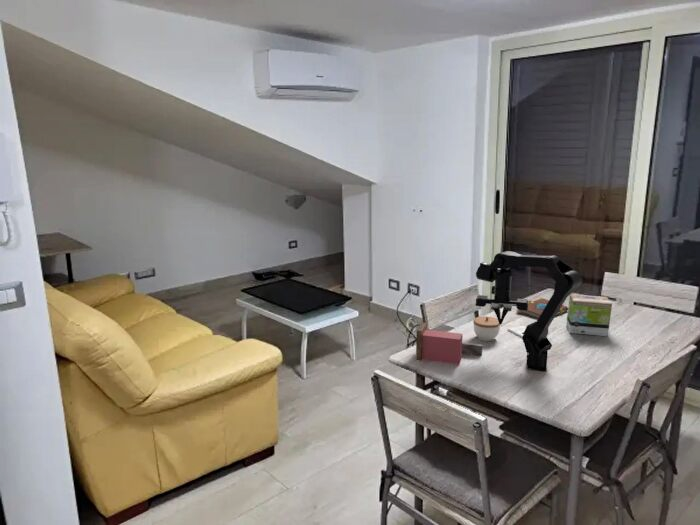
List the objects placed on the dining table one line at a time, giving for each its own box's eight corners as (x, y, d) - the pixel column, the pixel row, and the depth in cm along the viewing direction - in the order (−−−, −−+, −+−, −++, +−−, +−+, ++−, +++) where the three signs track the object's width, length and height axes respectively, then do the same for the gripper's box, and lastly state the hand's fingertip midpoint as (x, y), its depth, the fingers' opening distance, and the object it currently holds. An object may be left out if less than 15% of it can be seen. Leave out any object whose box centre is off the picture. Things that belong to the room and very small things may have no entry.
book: (573, 312, 247) (574, 302, 246) (543, 323, 233) (544, 313, 232) (543, 302, 260) (544, 292, 258) (512, 312, 245) (514, 302, 244)
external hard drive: (526, 342, 212) (507, 331, 223) (542, 339, 214) (523, 328, 226) (526, 338, 211) (507, 327, 222) (542, 335, 214) (523, 325, 225)
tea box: (569, 334, 218) (573, 300, 214) (566, 325, 227) (569, 293, 223) (608, 336, 214) (612, 303, 211) (603, 328, 224) (606, 295, 220)
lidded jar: (489, 345, 207) (490, 323, 205) (467, 337, 215) (468, 316, 213) (504, 338, 214) (506, 317, 211) (483, 331, 222) (484, 310, 219)
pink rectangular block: (461, 358, 196) (462, 333, 193) (459, 364, 190) (460, 339, 188) (425, 353, 200) (425, 329, 198) (421, 360, 195) (422, 335, 193)
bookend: (482, 354, 199) (483, 325, 196) (478, 368, 187) (480, 337, 184) (423, 347, 206) (423, 318, 203) (416, 360, 194) (416, 330, 192)
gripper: (529, 281, 197) (526, 319, 201) (479, 277, 203) (477, 314, 207) (529, 289, 187) (526, 329, 191) (476, 285, 193) (474, 324, 197)
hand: (500, 324), depth 197 cm, fingers closed
